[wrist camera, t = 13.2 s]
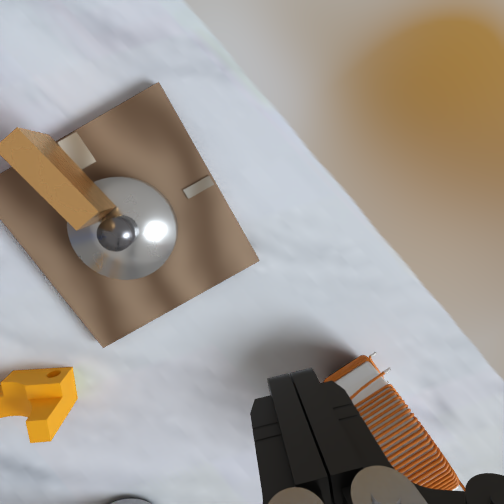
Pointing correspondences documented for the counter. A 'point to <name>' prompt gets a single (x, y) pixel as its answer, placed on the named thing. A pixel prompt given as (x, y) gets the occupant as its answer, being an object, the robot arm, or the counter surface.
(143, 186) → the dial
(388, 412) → the coil
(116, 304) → the board
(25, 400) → the pipe clamp
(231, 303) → the counter surface
